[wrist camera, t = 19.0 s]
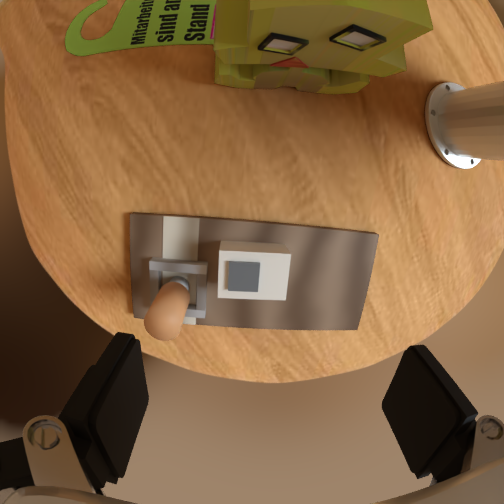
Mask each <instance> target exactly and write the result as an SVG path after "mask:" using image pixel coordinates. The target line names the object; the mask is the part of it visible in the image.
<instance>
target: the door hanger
mask: <svg viewBox="0 0 504 504" xmlns="http://www.w3.org/2000/svg"><path fill="white" fill-rule="evenodd" d="M106 4H108V3H107V0H99V1H97V2H95V3H93V4H91V5H89V6H88V7H86V8H85V9H84V10H82V11H81V12H80V13H79V14H78V15H77V16H76V17H75V18H74V20H73V21H72V22H71V24H70V26H69V28H68V30H67V33H66V37H65V47H66V50H67V51H68V52H70V53H71V54H74V55H76V56H87V55H92V54H97V53H103V52H109V51H115V50H122V49H130V48H139V47H150V46H163V45H185V44H214V29H215V13H216V0H126V1H125V3H124V4H123V6H122V8H121V10H120V12H119V14H118V16H117V18H116V21H115V23H114V25H113V27H112V29H111V30H110V31H109V32H108V33H107V34H105V35H104V36H103V37H101V38H98V39H95V40H85V39H83V38H82V37H81V34H80V32H81V29H82V25H83V23H84V22H85V20H86V19H87V18H88V16H89V15H91V14H92V13H94V12H95V11H97V10H98V9H100V8H102V7H104V6H105V5H106Z"/></svg>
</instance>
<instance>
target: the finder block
mask: <svg viewBox="0 0 504 504" xmlns="http://www.w3.org/2000/svg"><path fill="white" fill-rule="evenodd" d="M290 260H291V253H290V251H289V250H288V248H287V247H286V245H285V244H279V243H260V242H241V241H222V240H221V243H220V249H219V269H218V298H232V299H256V300H286V294H287V286H288V277H289V269H290Z"/></svg>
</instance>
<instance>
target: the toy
mask: <svg viewBox="0 0 504 504" xmlns="http://www.w3.org/2000/svg"><path fill="white" fill-rule="evenodd" d="M431 30H433V25H432V21H431V17H430V13H429V9H428V5H427V1H426V0H216V13H215V29H214V48H213V50H214V52H215V53H216V54H215V79H214V83H216V84H221V85H226V86H230V87H235V88H251V89H276V88H278V87H280V86H290V87H296V89H297V90H298V91H304V92H313V93H323V94H344V93H357V92H358V91H359V90H361V89H362V88H363V87H365V86H366V85H367V84H369V83H370V82H369V75H373V76H378V77H386V76H389V75H393V74H396V73H400V72H404V71H407V69H406V60H405V52H404V44H406V43H407V42H409V41H411V40H413V39H415V38H417V37H419V36H421V35H423V34H425V33H427V32H429V31H431Z"/></svg>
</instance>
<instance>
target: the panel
mask: <svg viewBox="0 0 504 504" xmlns="http://www.w3.org/2000/svg"><path fill="white" fill-rule="evenodd" d="M378 237H379V234H377V233H374V232H366V231H357V230H348V229H339V228H329V227H320V226H310V225H299V224H289V223H278V222H266V221H255V220H242V219H230V218H216V217H202V216H187V215H171V214H154V213H135V212H133V213H131V214H130V264H131V286H132V301H133V314H134V318H140V319H144V317H145V315H146V313H147V311H148V310H149V308H150V306H151V304H152V303H153V301H154V299H155V297H156V296H157V294H158V292H159V290H160V289H161V287H162V286H163V285H164V284H166V283H168V282H170V280H171V279H172V278H173V277H175V276H182V277H184V278H185V279H187V281H188V282H189V290H188V292H189V294H190V301H189V305H188V308H187V311H186V314H185V317H184V320H183V324H192V325H196V324H197V325H209V326H223V327H238V328H257V329H283V330H357V329H358V325H359V322H360V318H361V314H362V310H363V307H364V303H365V299H366V294H367V290H368V286H369V282H370V277H371V273H372V268H373V263H374V258H375V253H376V248H377V243H378ZM221 240H222V241H241V242H260V243H279V244H285V245H286V247H287V248H288V250H289V251H290V253H291V260H290V269H289V277H288V286H287V294H286V300H256V299H232V298H218V269H219V249H220V243H221Z"/></svg>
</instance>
